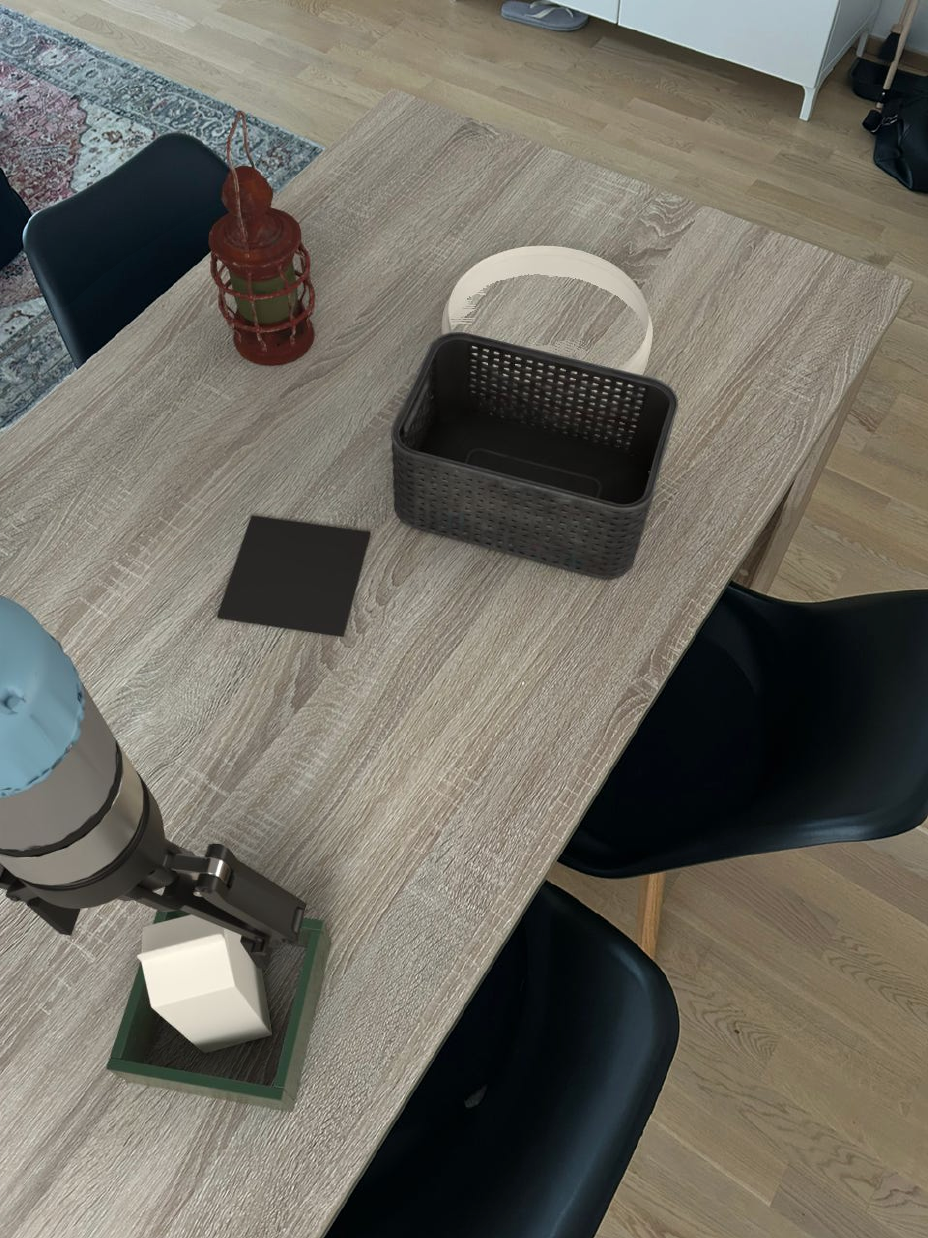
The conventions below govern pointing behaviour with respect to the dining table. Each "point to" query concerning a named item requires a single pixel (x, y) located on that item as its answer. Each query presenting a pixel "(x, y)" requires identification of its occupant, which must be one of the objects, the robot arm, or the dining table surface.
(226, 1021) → the milk
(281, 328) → the lantern
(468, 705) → the dining table surface
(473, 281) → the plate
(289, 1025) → the holder
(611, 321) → the dining table surface
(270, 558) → the mat
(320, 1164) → the dining table surface
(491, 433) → the storage bin
